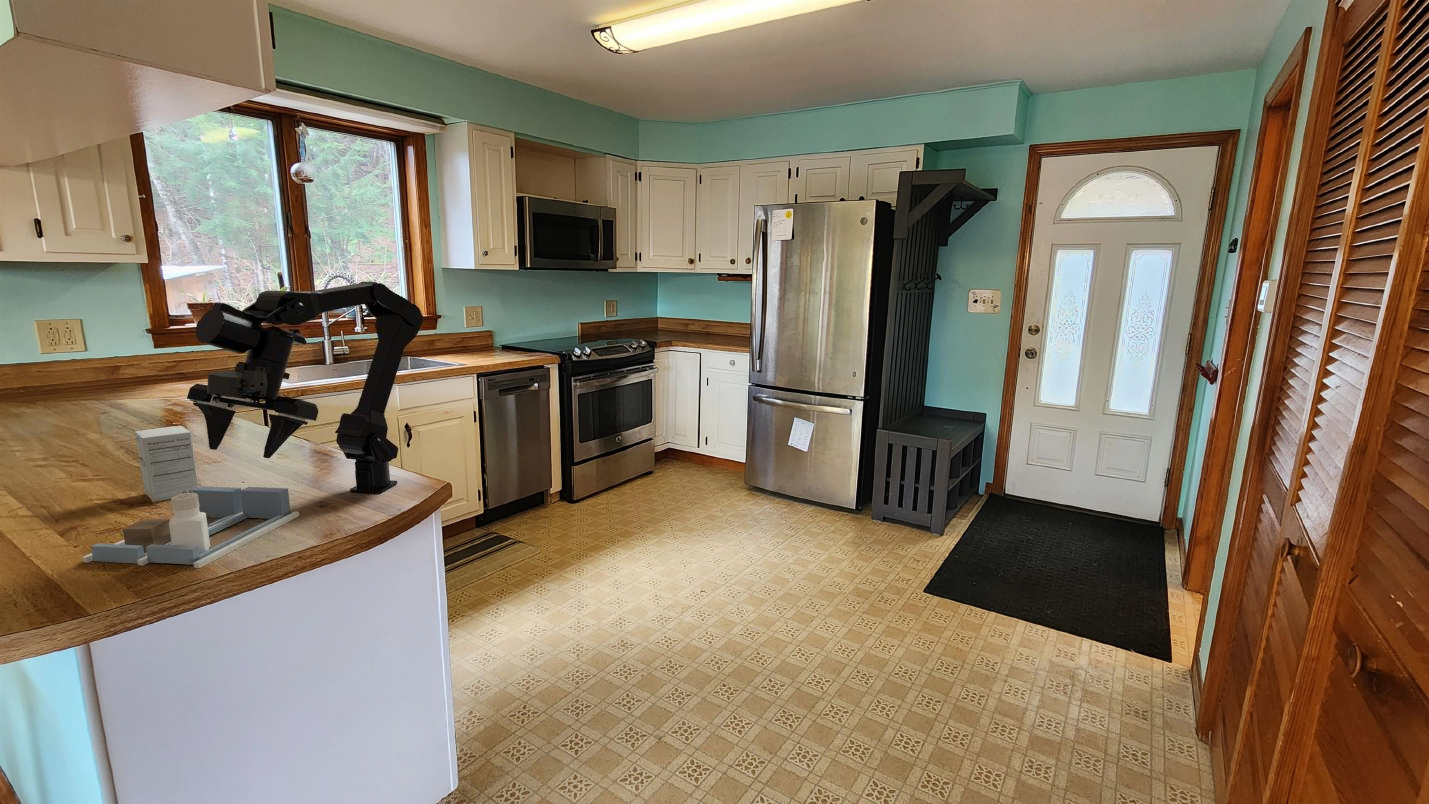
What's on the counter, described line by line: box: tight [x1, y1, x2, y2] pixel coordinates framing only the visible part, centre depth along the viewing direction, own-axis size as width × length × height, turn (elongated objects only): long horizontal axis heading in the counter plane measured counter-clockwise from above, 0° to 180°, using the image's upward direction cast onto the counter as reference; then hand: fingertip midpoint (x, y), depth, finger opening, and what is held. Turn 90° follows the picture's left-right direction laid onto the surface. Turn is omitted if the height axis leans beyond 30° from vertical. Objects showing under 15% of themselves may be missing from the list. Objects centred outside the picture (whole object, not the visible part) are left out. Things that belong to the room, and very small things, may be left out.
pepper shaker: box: [169, 493, 211, 554], centre depth 98 cm, size 4×4×10 cm
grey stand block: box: [146, 486, 292, 566], centre depth 105 cm, size 20×7×5 cm, turn 176°
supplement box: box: [134, 425, 199, 503], centre depth 124 cm, size 7×7×13 cm
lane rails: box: [81, 511, 300, 569], centre depth 105 cm, size 21×18×1 cm
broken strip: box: [90, 485, 243, 564], centre depth 105 cm, size 20×7×5 cm, turn 176°
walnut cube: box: [122, 518, 171, 553], centre depth 101 cm, size 4×4×4 cm
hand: (239, 453), depth 105 cm, fingers open, 9 cm apart
